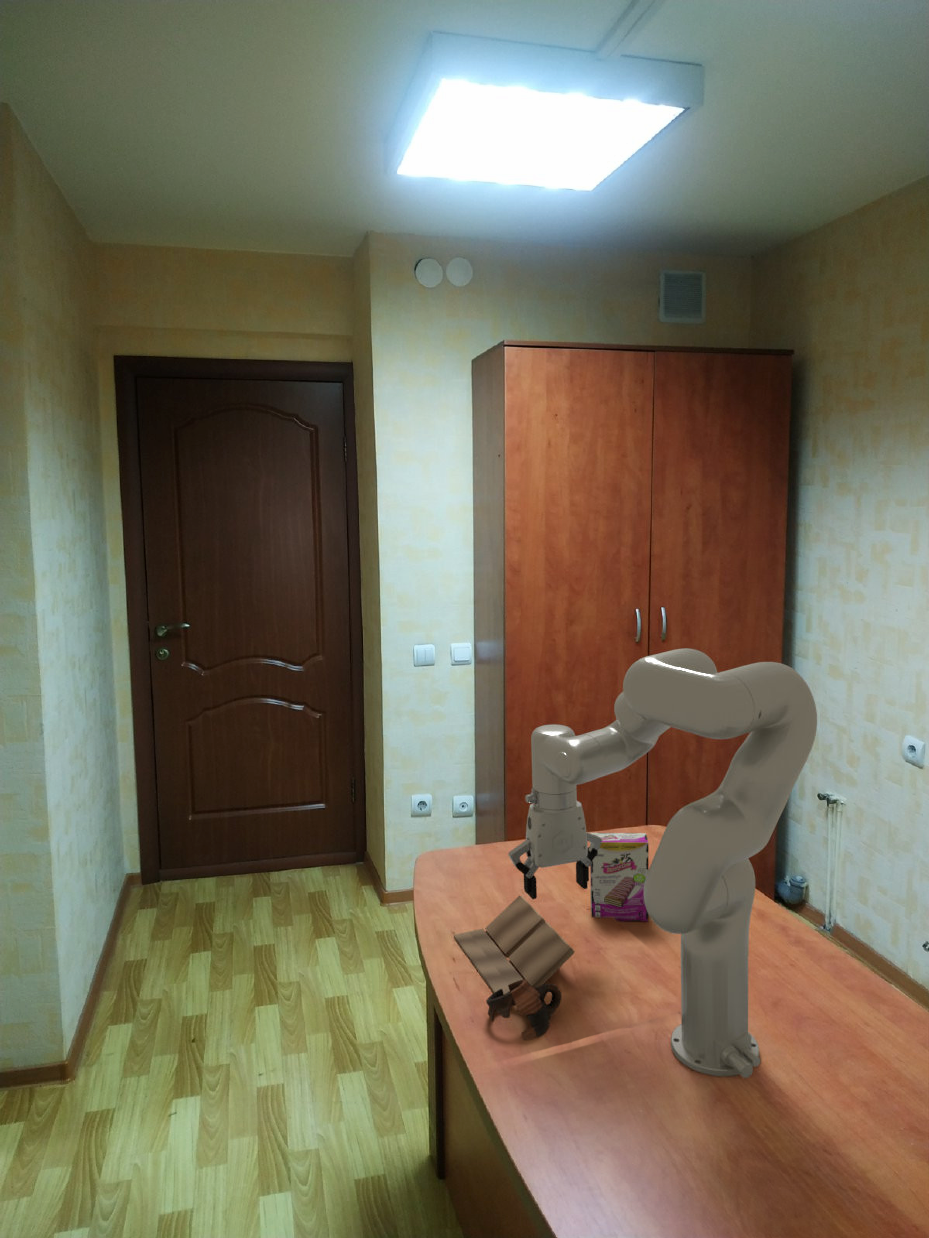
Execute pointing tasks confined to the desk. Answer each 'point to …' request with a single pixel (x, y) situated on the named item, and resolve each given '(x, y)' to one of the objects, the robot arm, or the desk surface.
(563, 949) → the plank
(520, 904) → the plank
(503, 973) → the laid strip
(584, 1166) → the desk surface
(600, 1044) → the desk surface
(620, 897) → the candy bar box
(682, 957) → the robot arm
